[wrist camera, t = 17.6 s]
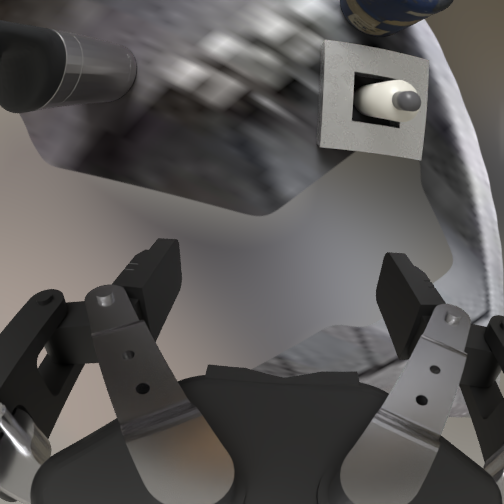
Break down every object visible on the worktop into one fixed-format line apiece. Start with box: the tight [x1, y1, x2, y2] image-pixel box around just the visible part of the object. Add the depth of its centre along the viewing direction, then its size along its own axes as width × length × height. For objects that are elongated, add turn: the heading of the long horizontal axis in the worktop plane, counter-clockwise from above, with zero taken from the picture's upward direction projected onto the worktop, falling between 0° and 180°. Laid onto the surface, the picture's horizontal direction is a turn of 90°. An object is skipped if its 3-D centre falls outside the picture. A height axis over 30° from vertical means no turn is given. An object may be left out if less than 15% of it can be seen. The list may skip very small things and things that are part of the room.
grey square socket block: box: [316, 40, 429, 160], centre depth 36 cm, size 14×14×4 cm
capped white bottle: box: [354, 80, 421, 122], centre depth 31 cm, size 4×4×15 cm
